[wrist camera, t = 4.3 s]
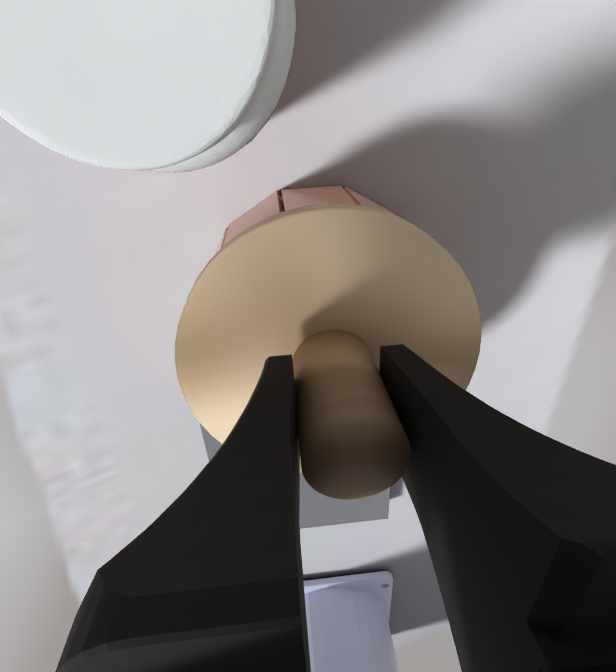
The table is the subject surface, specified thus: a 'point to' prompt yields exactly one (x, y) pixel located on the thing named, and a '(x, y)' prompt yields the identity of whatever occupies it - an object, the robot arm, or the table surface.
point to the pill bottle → (144, 77)
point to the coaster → (325, 500)
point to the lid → (327, 333)
